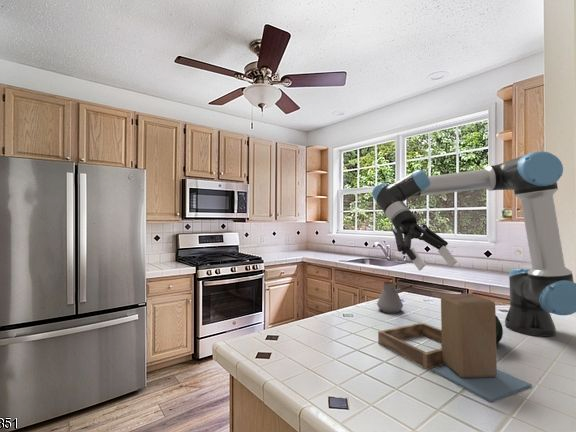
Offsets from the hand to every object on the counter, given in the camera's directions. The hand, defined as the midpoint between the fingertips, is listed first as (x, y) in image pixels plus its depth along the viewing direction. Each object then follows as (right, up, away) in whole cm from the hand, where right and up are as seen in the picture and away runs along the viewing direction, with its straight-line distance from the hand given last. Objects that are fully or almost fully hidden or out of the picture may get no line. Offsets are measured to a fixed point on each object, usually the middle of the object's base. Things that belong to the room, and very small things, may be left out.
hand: (438, 266), depth 94 cm
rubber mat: (+5, -28, -13) cm, 31 cm away
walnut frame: (-2, -28, +7) cm, 29 cm away
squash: (+18, -28, +11) cm, 35 cm away
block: (+4, -27, -9) cm, 29 cm away
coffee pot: (+4, -29, +45) cm, 53 cm away
